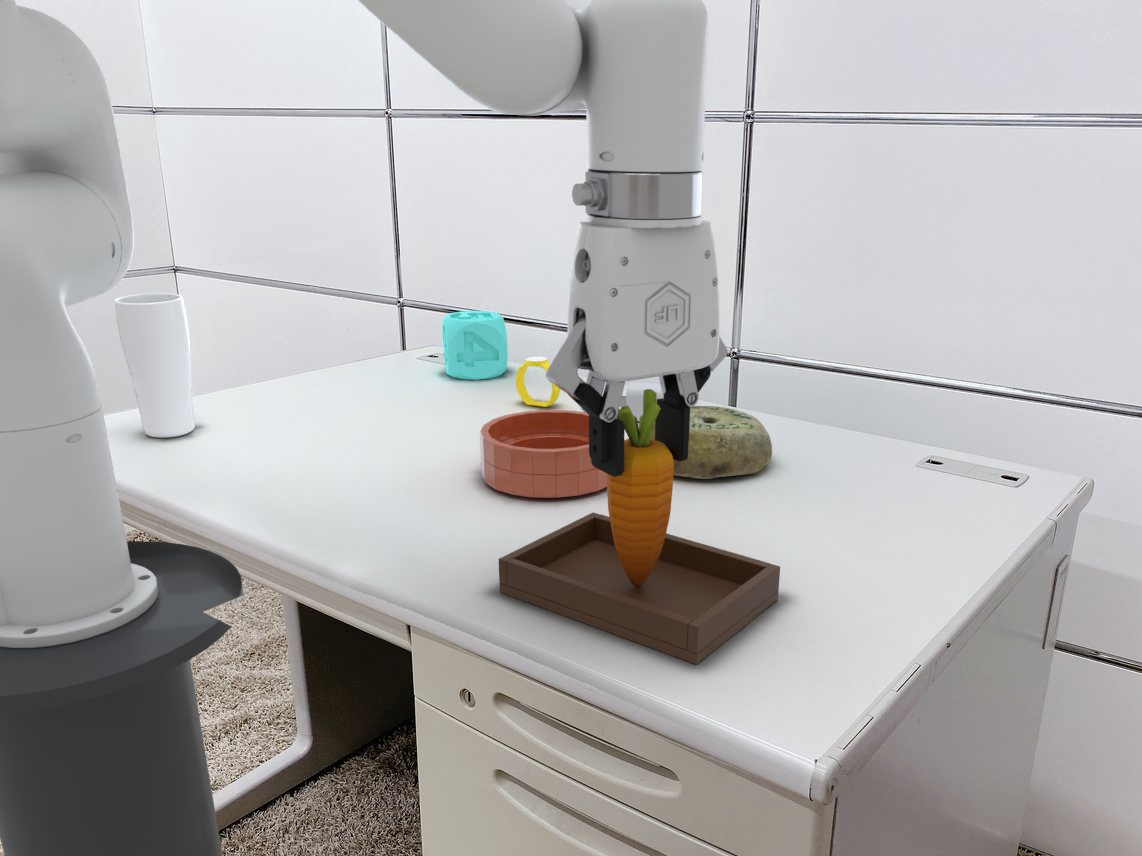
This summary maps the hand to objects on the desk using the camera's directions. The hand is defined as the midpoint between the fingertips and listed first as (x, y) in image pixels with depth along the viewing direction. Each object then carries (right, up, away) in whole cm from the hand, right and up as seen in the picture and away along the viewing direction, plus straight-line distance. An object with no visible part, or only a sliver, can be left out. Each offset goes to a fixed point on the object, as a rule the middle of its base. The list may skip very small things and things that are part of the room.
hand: (639, 460), depth 70 cm
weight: (+7, 0, +33) cm, 34 cm away
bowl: (-9, -1, +28) cm, 29 cm away
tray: (0, -10, +4) cm, 11 cm away
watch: (-13, +8, +52) cm, 54 cm away
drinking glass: (-53, +4, +40) cm, 66 cm away
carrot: (0, -10, +4) cm, 10 cm away
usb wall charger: (-1, +6, +47) cm, 48 cm away
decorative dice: (-23, +13, +67) cm, 72 cm away
